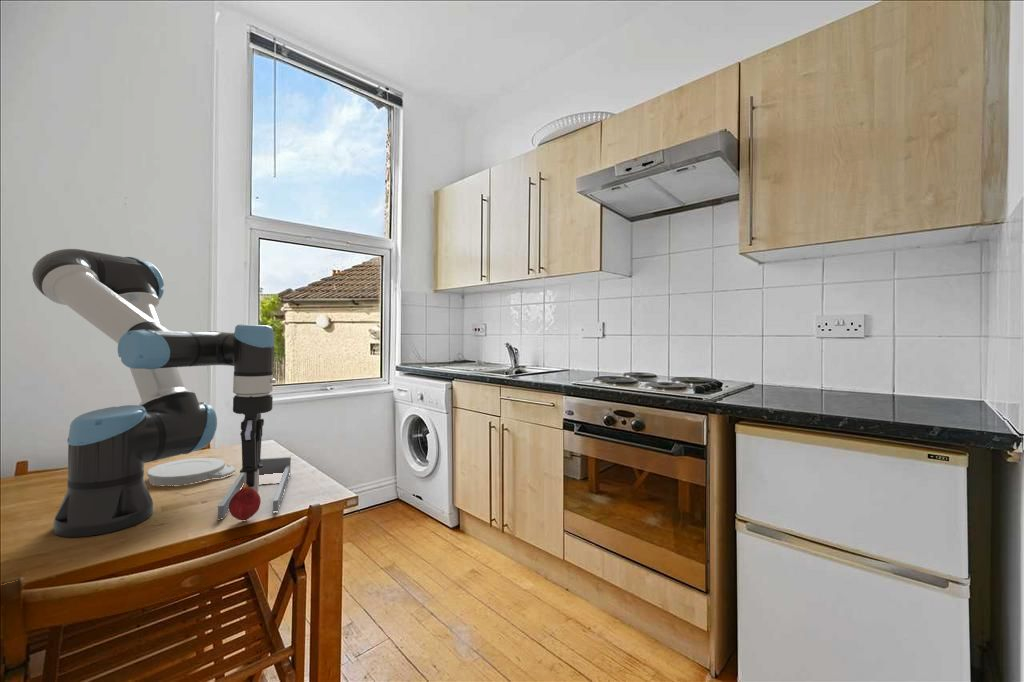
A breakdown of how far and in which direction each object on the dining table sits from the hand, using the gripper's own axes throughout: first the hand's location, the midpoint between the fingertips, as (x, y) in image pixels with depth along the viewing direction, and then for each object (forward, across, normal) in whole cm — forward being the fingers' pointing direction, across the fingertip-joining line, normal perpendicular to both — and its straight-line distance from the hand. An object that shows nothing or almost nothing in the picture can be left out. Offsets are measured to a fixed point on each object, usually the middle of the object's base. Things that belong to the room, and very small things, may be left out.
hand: (250, 499), depth 96 cm
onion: (+4, -3, 0) cm, 5 cm away
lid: (+4, +33, +19) cm, 38 cm away
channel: (+4, +13, 0) cm, 13 cm away
